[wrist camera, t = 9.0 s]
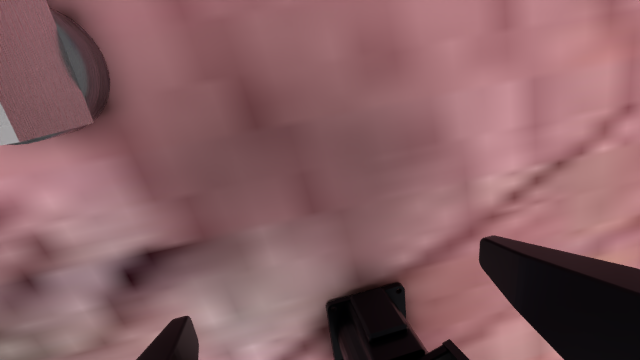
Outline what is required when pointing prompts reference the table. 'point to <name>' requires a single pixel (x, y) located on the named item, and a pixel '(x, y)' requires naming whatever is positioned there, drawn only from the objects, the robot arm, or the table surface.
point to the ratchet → (82, 68)
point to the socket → (35, 75)
